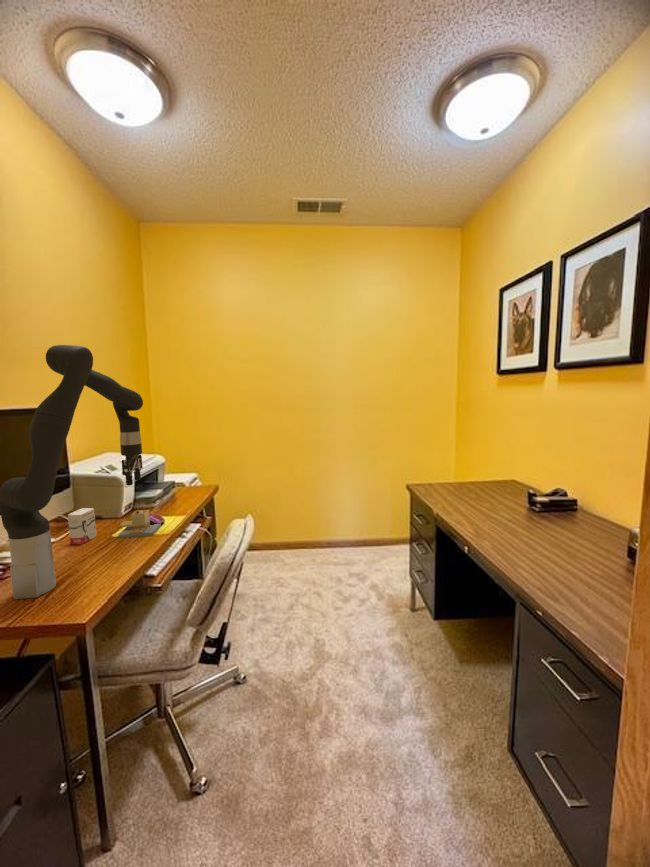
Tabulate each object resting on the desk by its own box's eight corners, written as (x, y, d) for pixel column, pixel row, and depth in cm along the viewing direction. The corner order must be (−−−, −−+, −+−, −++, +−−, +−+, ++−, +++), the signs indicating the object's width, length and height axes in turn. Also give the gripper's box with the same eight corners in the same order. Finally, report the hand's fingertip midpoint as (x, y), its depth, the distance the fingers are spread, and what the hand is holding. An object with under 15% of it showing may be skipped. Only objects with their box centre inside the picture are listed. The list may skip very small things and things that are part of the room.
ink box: (82, 544, 136) (79, 514, 134) (70, 545, 136) (66, 515, 135) (97, 535, 144) (94, 507, 143) (85, 536, 144) (82, 507, 143)
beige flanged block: (149, 521, 152) (148, 509, 151) (145, 525, 147) (144, 513, 146) (124, 522, 151) (123, 511, 150) (119, 527, 146) (118, 515, 145)
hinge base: (153, 535, 144) (151, 515, 143) (118, 537, 142) (116, 518, 141) (163, 522, 157) (162, 505, 156) (132, 525, 156) (130, 507, 155)
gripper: (133, 444, 138) (136, 486, 139) (147, 440, 152) (149, 478, 153) (113, 445, 137) (116, 487, 138) (128, 441, 151) (130, 479, 152)
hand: (133, 482), depth 146 cm, fingers open, 8 cm apart
